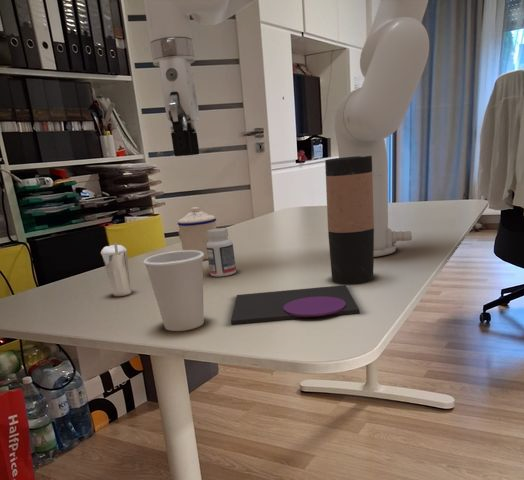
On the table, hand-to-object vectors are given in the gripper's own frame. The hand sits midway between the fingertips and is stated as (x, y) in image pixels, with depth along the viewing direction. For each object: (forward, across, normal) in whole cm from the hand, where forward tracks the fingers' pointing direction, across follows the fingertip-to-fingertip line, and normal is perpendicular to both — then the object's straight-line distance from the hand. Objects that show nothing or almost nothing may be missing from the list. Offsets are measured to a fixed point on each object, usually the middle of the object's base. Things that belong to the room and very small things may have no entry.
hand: (187, 155), depth 100 cm
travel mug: (+23, -16, -28) cm, 40 cm away
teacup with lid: (+23, +20, +4) cm, 31 cm away
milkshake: (+23, -12, +14) cm, 30 cm away
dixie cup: (+23, -34, -2) cm, 41 cm away
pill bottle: (+23, -2, -4) cm, 24 cm away
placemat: (+23, -29, -18) cm, 41 cm away
